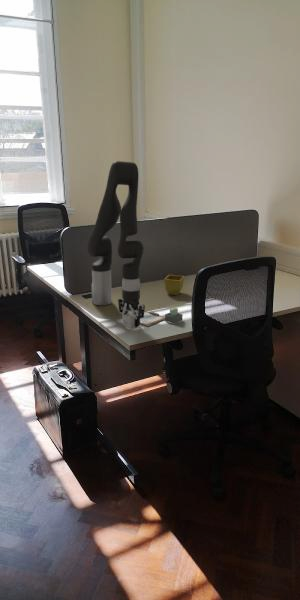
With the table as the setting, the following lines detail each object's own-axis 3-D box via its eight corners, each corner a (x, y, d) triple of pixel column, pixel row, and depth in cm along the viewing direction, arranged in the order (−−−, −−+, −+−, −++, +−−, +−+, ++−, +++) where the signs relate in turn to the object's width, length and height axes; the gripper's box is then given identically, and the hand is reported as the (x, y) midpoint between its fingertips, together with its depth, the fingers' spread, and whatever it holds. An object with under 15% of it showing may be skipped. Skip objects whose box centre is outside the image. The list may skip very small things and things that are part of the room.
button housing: (164, 320, 194) (164, 314, 193) (172, 317, 198) (172, 311, 197) (174, 323, 191) (174, 317, 190) (182, 320, 194) (182, 314, 193)
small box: (140, 326, 187) (140, 316, 186) (129, 329, 184) (129, 318, 183) (133, 322, 192) (133, 312, 190) (122, 325, 189) (122, 314, 187)
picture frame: (124, 318, 196) (124, 316, 195) (144, 311, 205) (144, 309, 205) (147, 327, 187) (147, 324, 187) (166, 318, 196) (166, 316, 196)
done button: (168, 317, 194) (168, 309, 192) (173, 315, 196) (173, 307, 195) (174, 319, 191) (174, 311, 190) (179, 317, 194) (179, 309, 193)
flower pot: (179, 297, 226) (180, 280, 223) (163, 295, 229) (164, 278, 226) (183, 292, 234) (184, 276, 231) (168, 290, 236) (168, 274, 234)
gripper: (112, 286, 184) (113, 322, 190) (137, 293, 175) (137, 331, 181) (125, 282, 189) (125, 318, 195) (149, 289, 180) (149, 326, 186)
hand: (131, 324), depth 188 cm, fingers closed on small box, 6 cm apart
